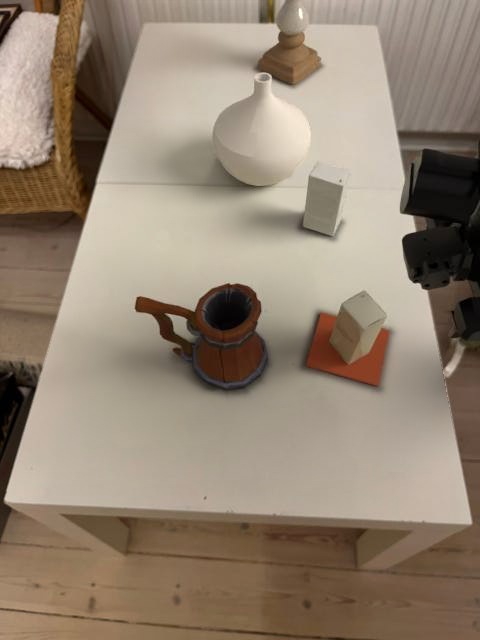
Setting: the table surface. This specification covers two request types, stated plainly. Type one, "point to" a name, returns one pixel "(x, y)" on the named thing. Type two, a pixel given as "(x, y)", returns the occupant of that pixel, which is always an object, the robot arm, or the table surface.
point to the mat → (332, 362)
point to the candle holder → (290, 46)
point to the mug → (217, 334)
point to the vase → (261, 136)
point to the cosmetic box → (325, 197)
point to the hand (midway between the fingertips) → (444, 306)
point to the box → (357, 327)
